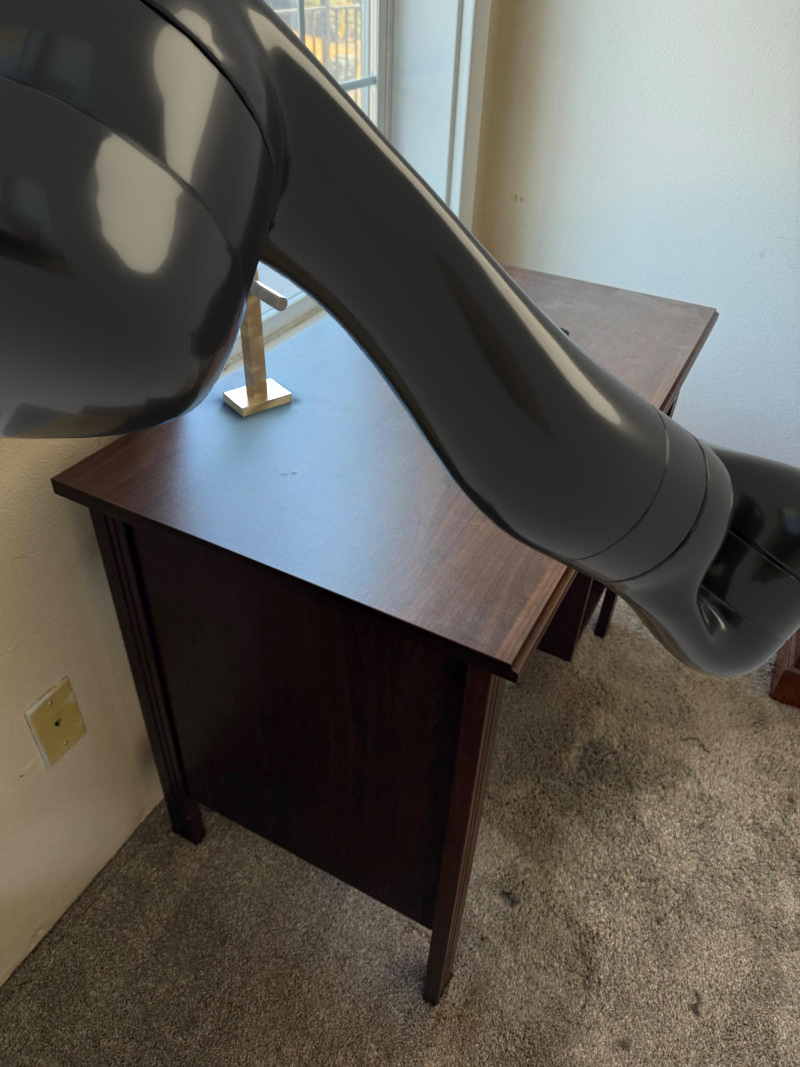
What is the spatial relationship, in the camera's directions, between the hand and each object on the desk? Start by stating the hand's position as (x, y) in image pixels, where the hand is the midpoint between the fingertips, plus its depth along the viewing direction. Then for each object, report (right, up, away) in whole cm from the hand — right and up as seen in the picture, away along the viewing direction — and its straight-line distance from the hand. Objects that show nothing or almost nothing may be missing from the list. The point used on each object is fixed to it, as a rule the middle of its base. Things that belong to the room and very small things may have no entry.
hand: (422, 310), depth 58 cm
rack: (-18, -2, +35) cm, 40 cm away
